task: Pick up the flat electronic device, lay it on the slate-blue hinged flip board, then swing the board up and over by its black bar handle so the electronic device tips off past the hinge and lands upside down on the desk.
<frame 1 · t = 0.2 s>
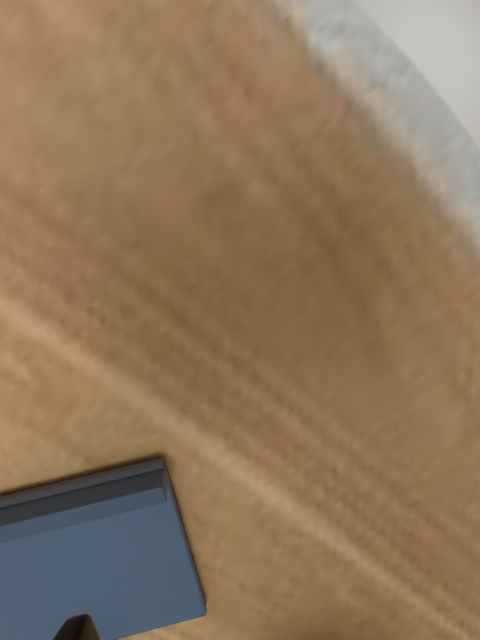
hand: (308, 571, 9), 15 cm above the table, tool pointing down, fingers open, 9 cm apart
flip board: (38, 618, 24), point 2 cm above the table, hinge at 0.0°
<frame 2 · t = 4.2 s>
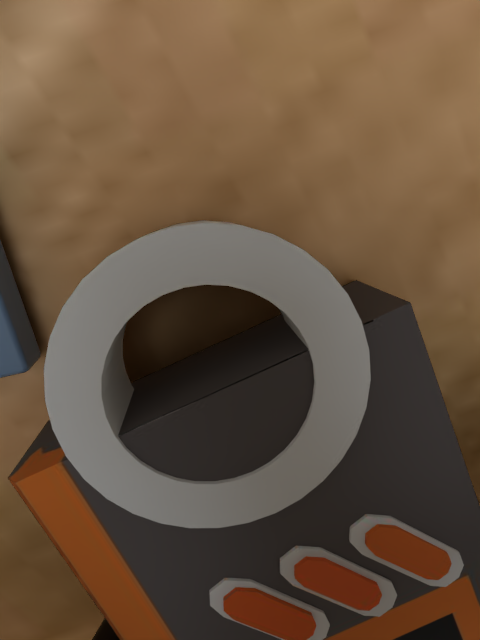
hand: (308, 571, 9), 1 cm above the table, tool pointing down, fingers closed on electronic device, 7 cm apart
electronic device: (294, 527, 10), on the table, touching gripper
when the fingers open (3 cm above the table, at t = 9.3 s): electronic device stays where it is, resting on flip board.
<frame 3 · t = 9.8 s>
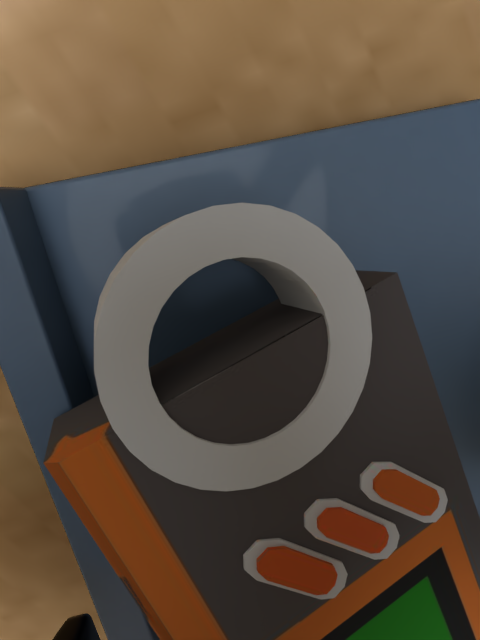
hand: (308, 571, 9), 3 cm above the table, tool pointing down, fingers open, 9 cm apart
electronic device: (287, 508, 11), point 1 cm above the table, touching flip board
flip board: (361, 511, 10), point 2 cm above the table, hinge at -0.3°, touching electronic device
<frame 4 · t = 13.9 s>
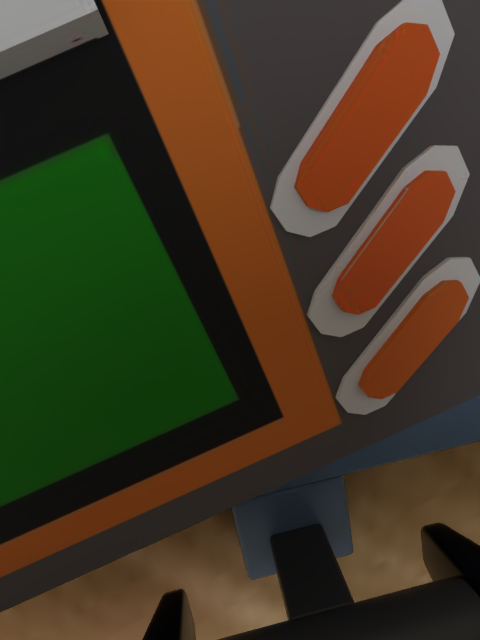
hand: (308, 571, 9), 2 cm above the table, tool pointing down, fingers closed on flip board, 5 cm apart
electronic device: (235, 191, 7), point 1 cm above the table, touching flip board
flip board: (261, 302, 7), point 2 cm above the table, hinge at -0.4°, touching electronic device, gripper
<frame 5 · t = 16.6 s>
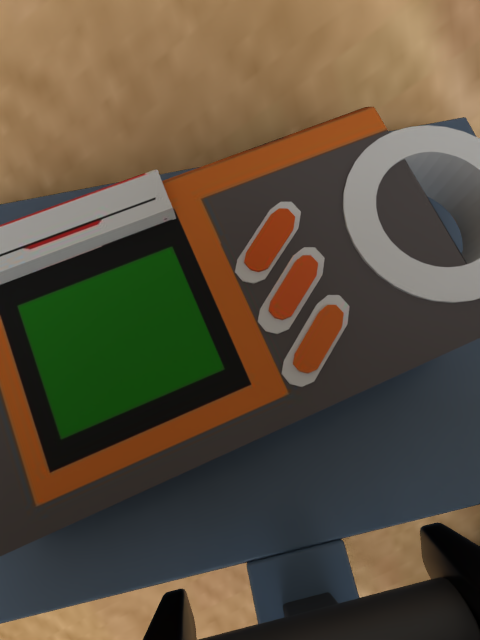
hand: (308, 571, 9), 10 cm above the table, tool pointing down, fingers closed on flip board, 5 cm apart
electronic device: (239, 313, 12), point 4 cm above the table, touching flip board
flip board: (253, 363, 11), point 6 cm above the table, hinge at 41.9°, touching electronic device, gripper
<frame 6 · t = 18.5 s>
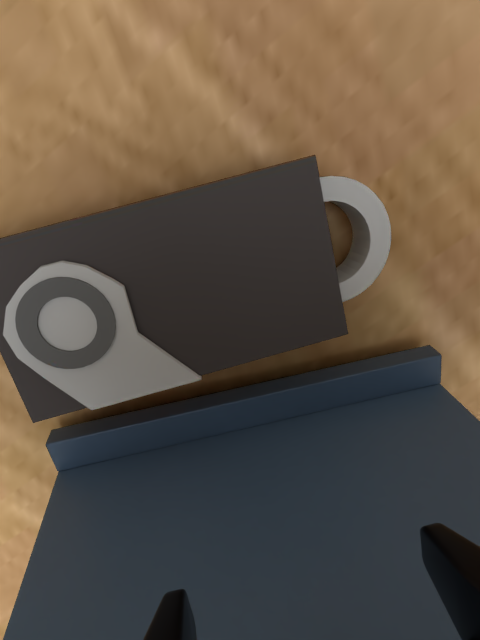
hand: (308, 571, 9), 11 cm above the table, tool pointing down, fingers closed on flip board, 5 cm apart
electronic device: (197, 289, 15), point 3 cm above the table
flip board: (279, 504, 13), point 7 cm above the table, hinge at 84.3°, touching gripper
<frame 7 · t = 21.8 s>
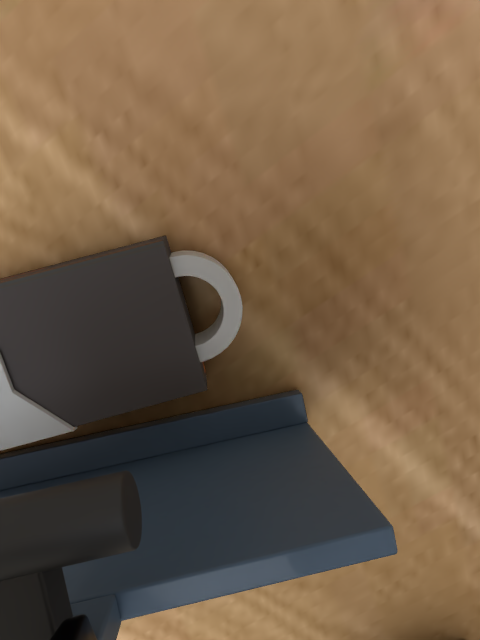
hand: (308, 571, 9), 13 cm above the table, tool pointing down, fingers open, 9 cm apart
electronic device: (62, 353, 17), point 3 cm above the table
flip board: (101, 480, 15), point 6 cm above the table, hinge at 104.9°, touching gripper
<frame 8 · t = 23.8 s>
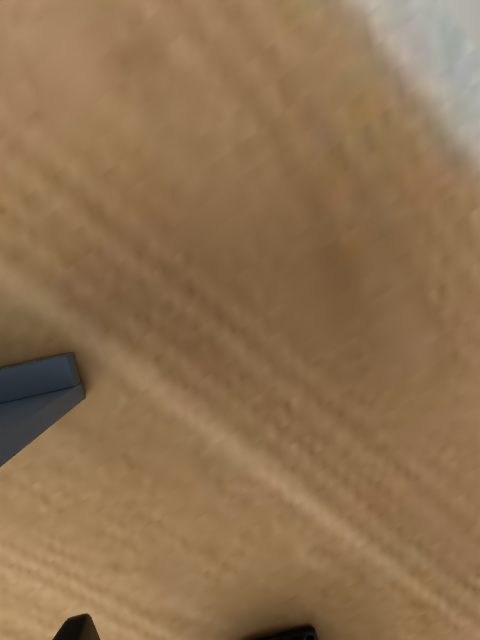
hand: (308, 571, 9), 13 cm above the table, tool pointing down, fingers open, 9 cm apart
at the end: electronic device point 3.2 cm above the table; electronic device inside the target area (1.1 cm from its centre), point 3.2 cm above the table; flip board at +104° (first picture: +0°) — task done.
